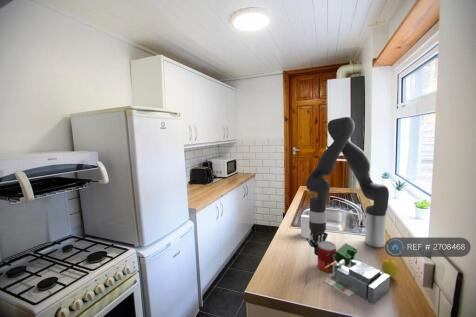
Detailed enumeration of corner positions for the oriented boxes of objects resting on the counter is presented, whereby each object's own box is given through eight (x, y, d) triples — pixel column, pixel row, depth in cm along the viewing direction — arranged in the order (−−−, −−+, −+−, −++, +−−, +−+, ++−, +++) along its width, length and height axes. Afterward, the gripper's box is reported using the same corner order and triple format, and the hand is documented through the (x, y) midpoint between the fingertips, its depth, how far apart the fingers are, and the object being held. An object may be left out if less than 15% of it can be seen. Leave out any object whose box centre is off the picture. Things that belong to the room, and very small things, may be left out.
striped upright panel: (328, 278, 98) (328, 277, 98) (353, 293, 89) (353, 292, 89) (324, 281, 96) (324, 280, 96) (349, 296, 87) (349, 295, 87)
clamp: (345, 273, 108) (346, 261, 103) (333, 265, 112) (334, 253, 108) (356, 255, 114) (359, 244, 110) (345, 248, 118) (346, 237, 114)
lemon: (397, 282, 94) (398, 264, 93) (381, 278, 97) (382, 260, 96) (397, 275, 98) (398, 257, 97) (381, 271, 101) (382, 254, 100)
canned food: (327, 274, 100) (327, 250, 99) (313, 265, 107) (313, 243, 106) (339, 269, 104) (340, 246, 103) (325, 261, 111) (325, 239, 110)
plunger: (342, 269, 103) (342, 255, 102) (361, 279, 96) (361, 264, 96) (323, 281, 96) (323, 265, 95) (342, 292, 89) (343, 276, 88)
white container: (317, 233, 140) (318, 214, 139) (315, 240, 132) (315, 220, 131) (302, 231, 144) (302, 212, 143) (299, 237, 136) (299, 217, 135)
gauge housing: (352, 272, 102) (353, 256, 101) (389, 290, 90) (389, 272, 89) (336, 283, 95) (336, 265, 94) (373, 304, 83) (373, 284, 82)
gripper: (319, 214, 114) (319, 247, 116) (301, 220, 107) (301, 255, 109) (333, 218, 108) (332, 253, 110) (315, 225, 101) (314, 263, 103)
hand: (317, 254), depth 109 cm, fingers closed
